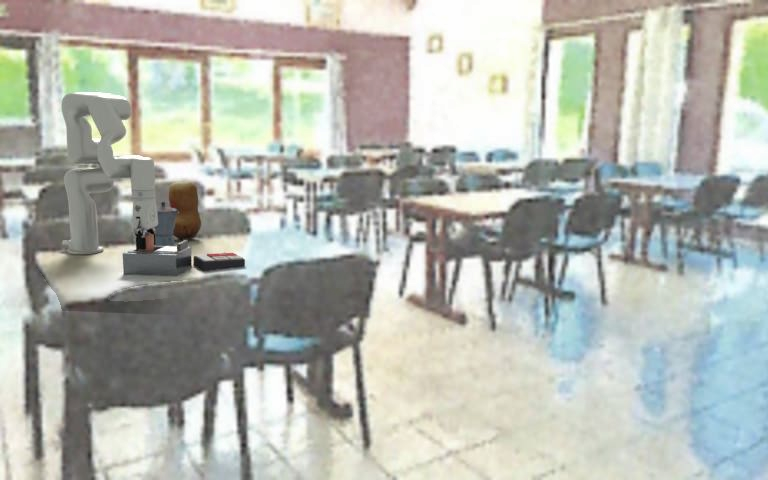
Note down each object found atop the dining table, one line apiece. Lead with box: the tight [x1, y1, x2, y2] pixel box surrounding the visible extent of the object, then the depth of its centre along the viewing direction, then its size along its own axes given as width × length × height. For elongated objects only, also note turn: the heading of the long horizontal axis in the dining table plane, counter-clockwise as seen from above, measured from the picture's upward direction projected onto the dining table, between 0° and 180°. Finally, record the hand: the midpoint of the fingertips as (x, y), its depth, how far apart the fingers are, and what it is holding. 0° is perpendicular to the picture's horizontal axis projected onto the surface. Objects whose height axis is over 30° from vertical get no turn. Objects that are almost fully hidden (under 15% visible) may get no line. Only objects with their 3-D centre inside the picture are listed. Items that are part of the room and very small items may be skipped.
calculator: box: [192, 252, 246, 272], centre depth 236 cm, size 11×4×15 cm
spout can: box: [138, 231, 154, 252], centre depth 227 cm, size 5×6×10 cm
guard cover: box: [156, 240, 190, 253], centre depth 226 cm, size 8×8×3 cm
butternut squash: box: [168, 179, 202, 241], centre depth 281 cm, size 14×13×25 cm
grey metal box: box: [122, 246, 193, 277], centre depth 228 cm, size 18×14×7 cm
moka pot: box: [154, 201, 179, 246], centre depth 252 cm, size 10×15×20 cm, turn 78°
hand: (146, 246), depth 227 cm, fingers open, 7 cm apart
